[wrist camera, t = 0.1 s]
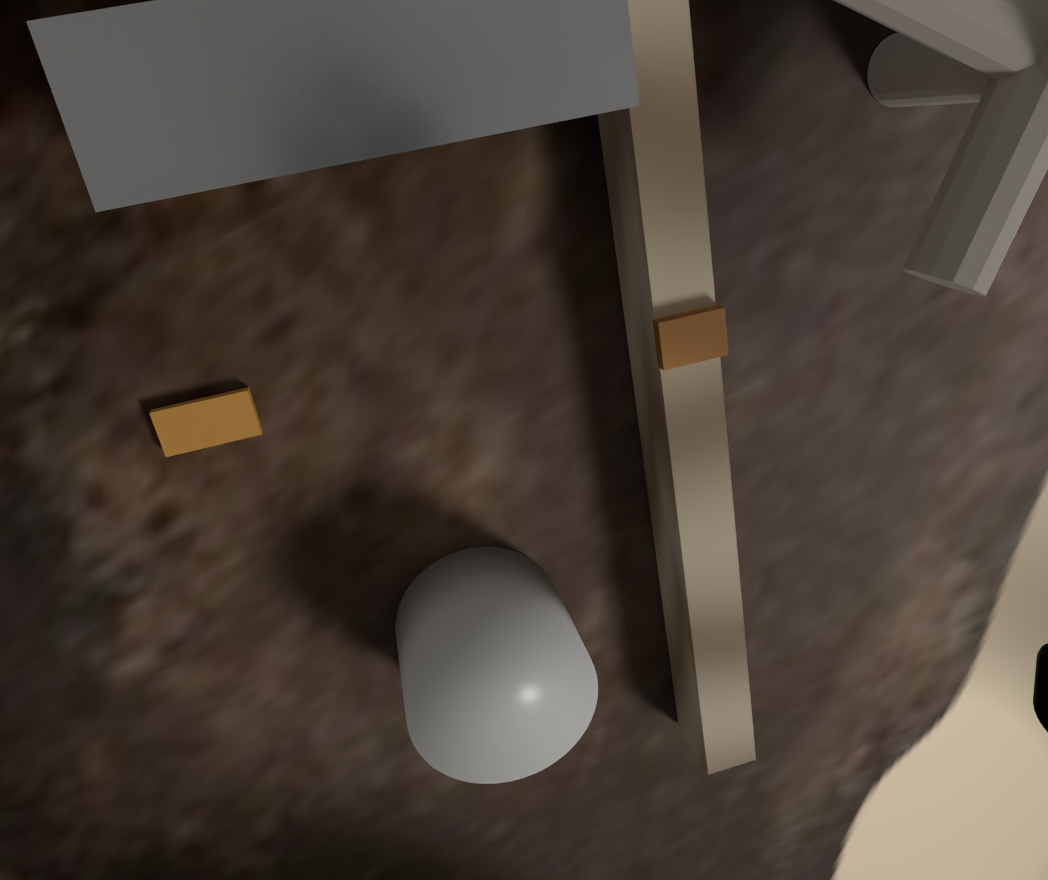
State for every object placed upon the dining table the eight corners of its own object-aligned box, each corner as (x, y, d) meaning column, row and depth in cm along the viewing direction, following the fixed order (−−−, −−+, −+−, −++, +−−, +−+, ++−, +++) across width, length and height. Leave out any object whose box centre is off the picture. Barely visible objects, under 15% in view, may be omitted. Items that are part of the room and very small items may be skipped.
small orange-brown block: (262, 430, 21) (261, 434, 21) (168, 452, 21) (165, 457, 21) (248, 387, 21) (247, 390, 20) (152, 409, 20) (149, 413, 20)
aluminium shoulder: (569, 113, 20) (639, 105, 16) (153, 194, 19) (95, 212, 14) (550, -24, 19) (618, -76, 14) (106, 52, 18) (26, 21, 13)
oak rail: (723, 710, 28) (763, 767, 25) (677, 724, 28) (712, 784, 25) (647, -16, 19) (694, -40, 17) (579, -4, 19) (618, -27, 17)
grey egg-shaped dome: (570, 664, 26) (610, 751, 22) (416, 709, 25) (430, 806, 22) (544, 526, 24) (583, 596, 20) (376, 571, 23) (385, 651, 20)
